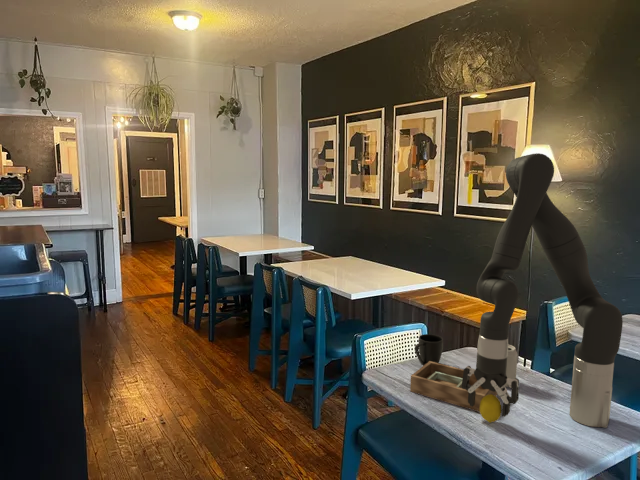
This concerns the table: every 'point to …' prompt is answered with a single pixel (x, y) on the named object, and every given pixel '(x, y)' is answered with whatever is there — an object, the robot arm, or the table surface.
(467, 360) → the table surface
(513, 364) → the can
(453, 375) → the caddy
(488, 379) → the robot arm
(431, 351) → the mug
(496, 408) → the lemon
